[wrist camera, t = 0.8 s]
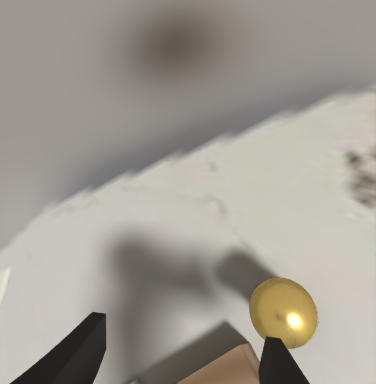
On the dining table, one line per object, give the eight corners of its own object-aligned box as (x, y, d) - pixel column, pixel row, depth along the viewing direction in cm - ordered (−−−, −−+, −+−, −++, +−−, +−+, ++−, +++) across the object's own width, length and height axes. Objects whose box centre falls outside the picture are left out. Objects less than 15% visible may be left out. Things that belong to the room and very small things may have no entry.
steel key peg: (332, 327, 22) (333, 327, 15) (289, 352, 22) (273, 362, 16) (298, 281, 24) (287, 265, 18) (260, 305, 25) (237, 297, 19)
